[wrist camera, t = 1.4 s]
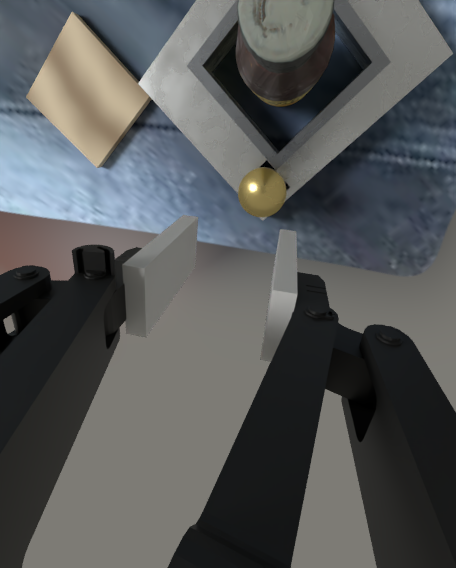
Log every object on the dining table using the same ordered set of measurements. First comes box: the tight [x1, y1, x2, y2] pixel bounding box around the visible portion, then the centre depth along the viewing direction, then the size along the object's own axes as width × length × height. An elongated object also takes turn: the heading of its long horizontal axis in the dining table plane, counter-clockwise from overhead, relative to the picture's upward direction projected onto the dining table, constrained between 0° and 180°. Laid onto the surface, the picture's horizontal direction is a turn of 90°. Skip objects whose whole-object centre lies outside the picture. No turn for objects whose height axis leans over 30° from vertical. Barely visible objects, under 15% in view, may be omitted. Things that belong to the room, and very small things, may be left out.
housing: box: [138, 0, 453, 221], centre depth 29 cm, size 21×18×4 cm
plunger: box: [238, 167, 286, 217], centre depth 32 cm, size 4×4×4 cm
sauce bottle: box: [236, 0, 335, 107], centre depth 22 cm, size 6×6×20 cm
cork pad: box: [26, 12, 152, 168], centre depth 35 cm, size 10×10×1 cm
